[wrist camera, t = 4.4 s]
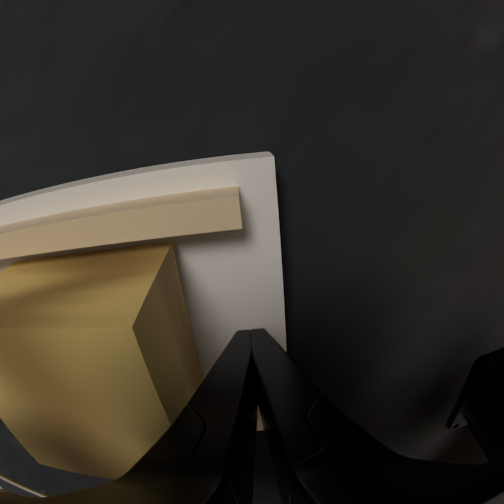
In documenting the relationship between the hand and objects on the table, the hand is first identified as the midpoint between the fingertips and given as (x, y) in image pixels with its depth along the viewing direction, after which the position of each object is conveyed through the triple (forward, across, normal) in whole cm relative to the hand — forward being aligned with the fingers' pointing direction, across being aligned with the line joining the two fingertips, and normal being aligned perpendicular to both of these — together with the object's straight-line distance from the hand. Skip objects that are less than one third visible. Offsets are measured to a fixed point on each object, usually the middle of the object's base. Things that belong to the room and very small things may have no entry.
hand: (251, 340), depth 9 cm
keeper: (+1, +5, 0) cm, 5 cm away
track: (+3, +10, 0) cm, 10 cm away
